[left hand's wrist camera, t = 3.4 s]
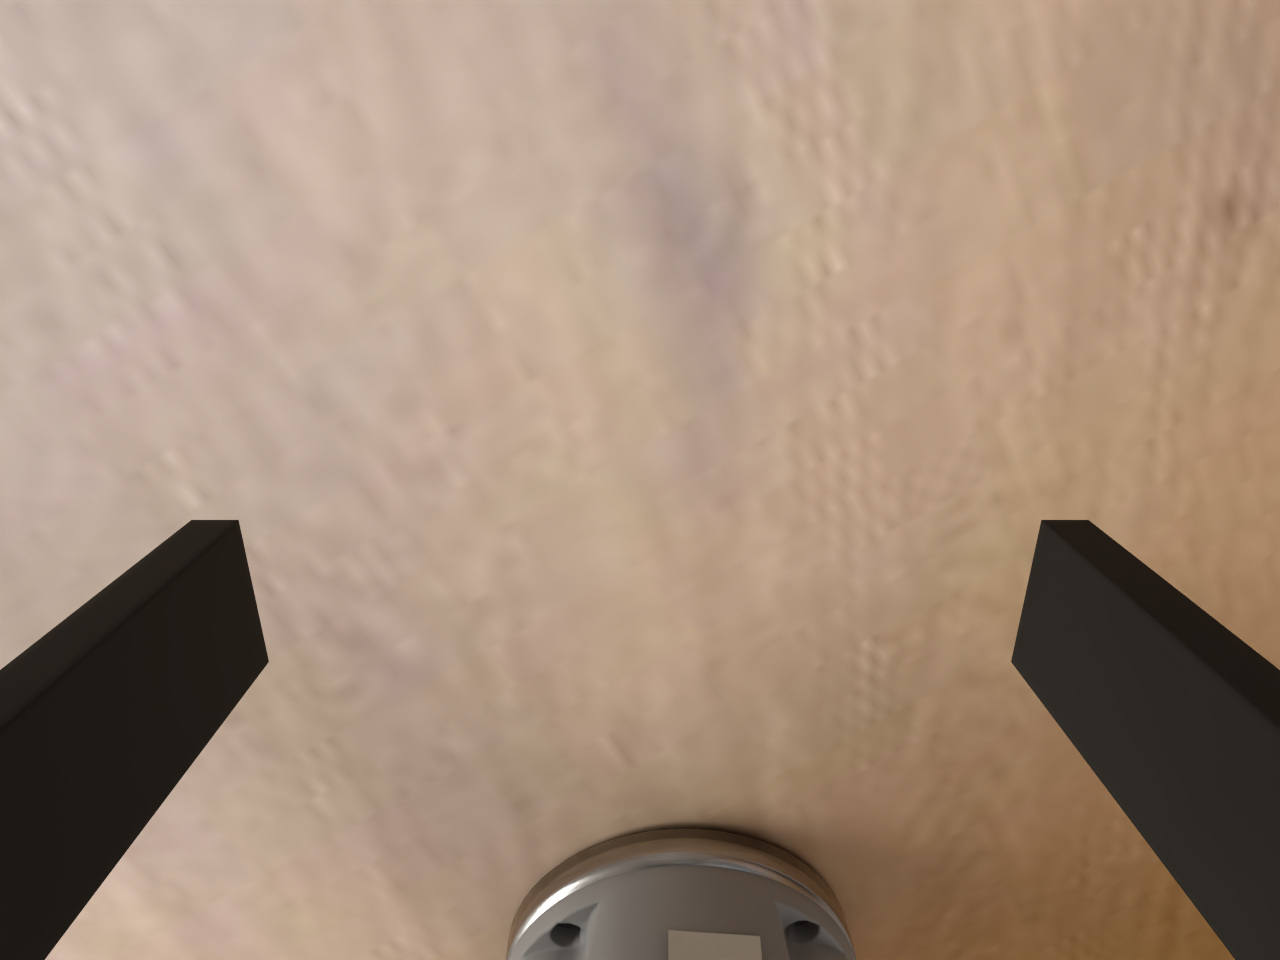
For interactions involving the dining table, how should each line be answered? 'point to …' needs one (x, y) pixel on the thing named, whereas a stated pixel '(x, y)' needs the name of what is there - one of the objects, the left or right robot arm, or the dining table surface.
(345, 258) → the dining table surface
